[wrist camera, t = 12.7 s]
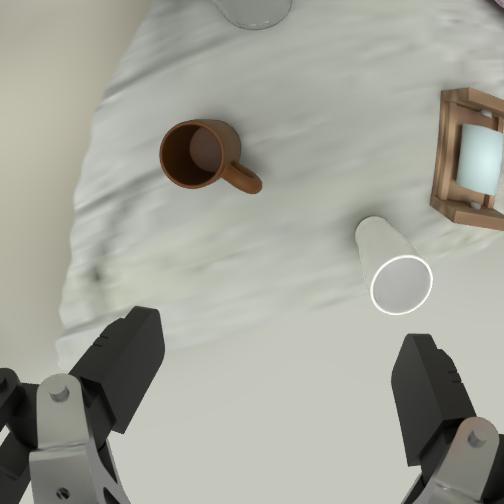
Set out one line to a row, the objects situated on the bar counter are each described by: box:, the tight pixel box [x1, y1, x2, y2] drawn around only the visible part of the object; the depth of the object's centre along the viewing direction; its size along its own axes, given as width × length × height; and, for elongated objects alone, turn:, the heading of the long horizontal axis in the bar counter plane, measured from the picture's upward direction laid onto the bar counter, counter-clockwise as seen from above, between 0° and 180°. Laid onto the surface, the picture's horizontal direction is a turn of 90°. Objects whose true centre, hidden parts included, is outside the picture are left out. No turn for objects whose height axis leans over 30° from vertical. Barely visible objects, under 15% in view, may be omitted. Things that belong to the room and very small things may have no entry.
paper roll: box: [456, 124, 504, 196], centre depth 31 cm, size 9×6×6 cm
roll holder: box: [430, 87, 504, 231], centre depth 31 cm, size 16×10×8 cm, turn 178°
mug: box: [160, 120, 262, 194], centre depth 36 cm, size 12×8×9 cm, turn 60°
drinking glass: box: [355, 216, 433, 315], centre depth 34 cm, size 7×7×15 cm
